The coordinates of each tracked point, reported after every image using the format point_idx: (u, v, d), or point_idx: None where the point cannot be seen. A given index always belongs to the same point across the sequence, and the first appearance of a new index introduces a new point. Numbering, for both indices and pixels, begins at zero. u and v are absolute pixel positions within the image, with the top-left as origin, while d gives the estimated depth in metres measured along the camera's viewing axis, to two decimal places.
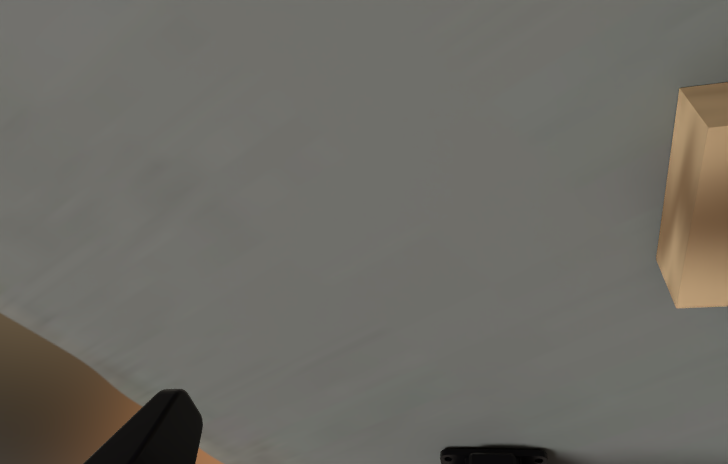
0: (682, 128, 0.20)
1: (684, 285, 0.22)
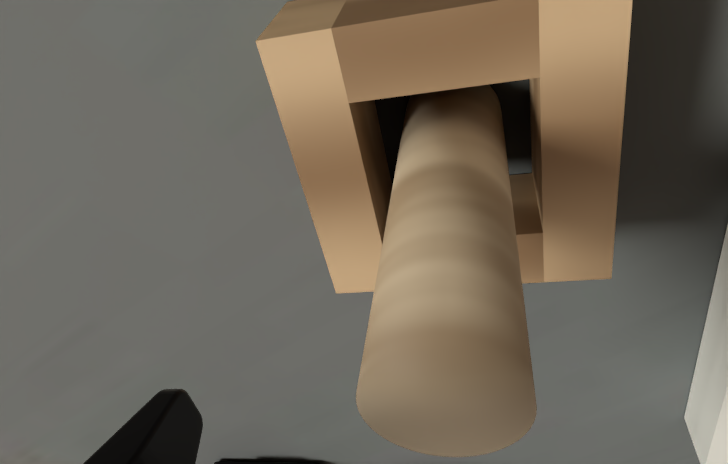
0: None
1: (331, 263, 0.17)
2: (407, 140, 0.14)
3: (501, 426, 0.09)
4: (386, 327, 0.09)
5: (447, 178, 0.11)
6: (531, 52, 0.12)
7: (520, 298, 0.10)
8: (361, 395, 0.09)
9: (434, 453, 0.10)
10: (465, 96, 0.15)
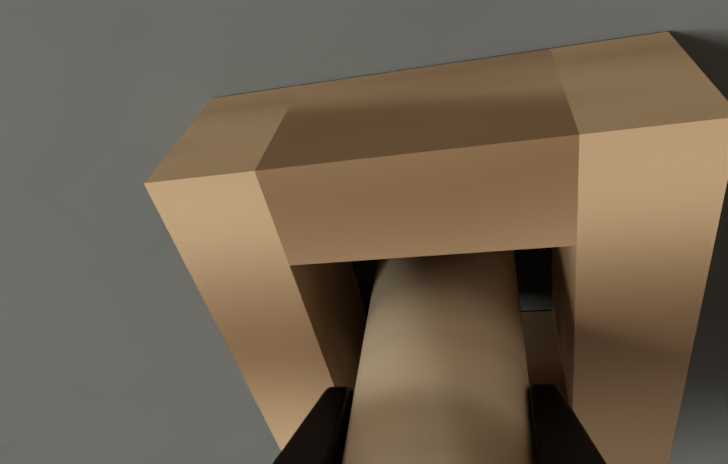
0: None
1: (281, 440, 0.12)
2: (378, 312, 0.10)
3: None
4: None
5: (432, 430, 0.07)
6: (564, 213, 0.08)
7: None
8: None
9: None
10: None
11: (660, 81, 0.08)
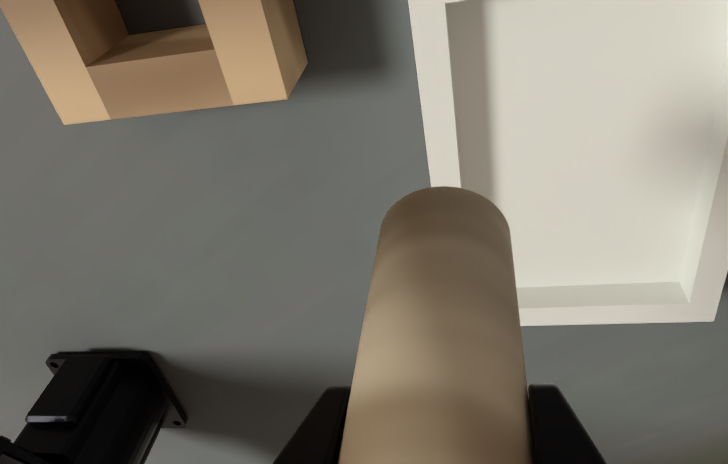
0: None
1: (49, 90, 0.18)
2: (375, 309, 0.09)
3: None
4: None
5: (429, 426, 0.07)
6: None
7: None
8: None
9: None
10: (460, 235, 0.10)
11: None
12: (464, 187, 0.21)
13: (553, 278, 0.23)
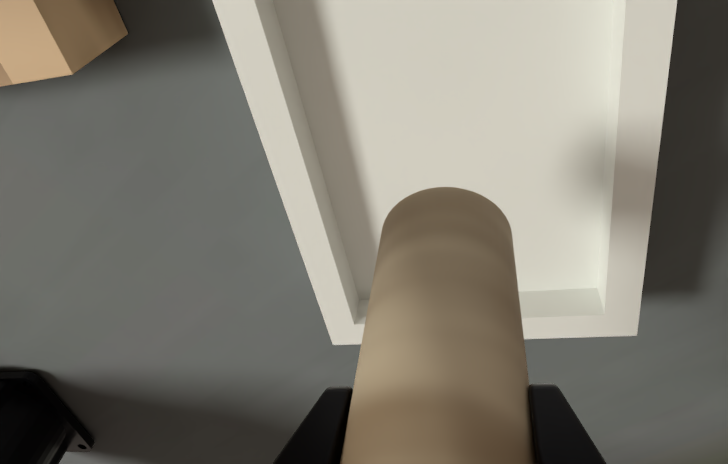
0: None
1: None
2: (377, 310, 0.09)
3: None
4: None
5: (431, 429, 0.07)
6: None
7: None
8: None
9: None
10: (463, 235, 0.10)
11: None
12: (327, 180, 0.17)
13: None
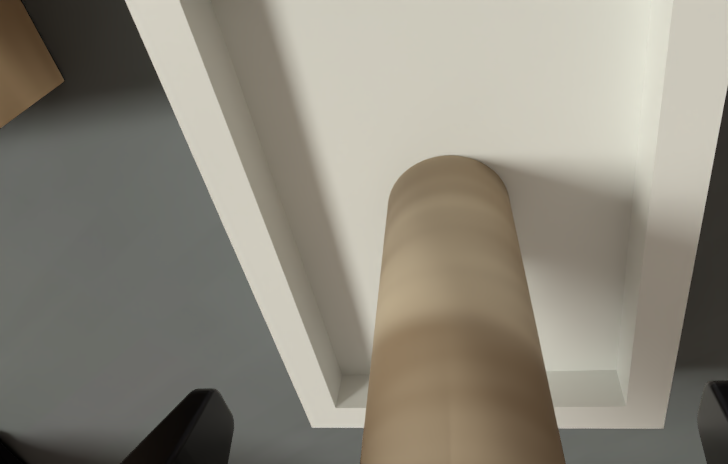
0: None
1: None
2: (393, 260, 0.10)
3: None
4: None
5: (454, 344, 0.08)
6: None
7: None
8: None
9: None
10: (467, 194, 0.11)
11: None
12: (301, 250, 0.15)
13: None
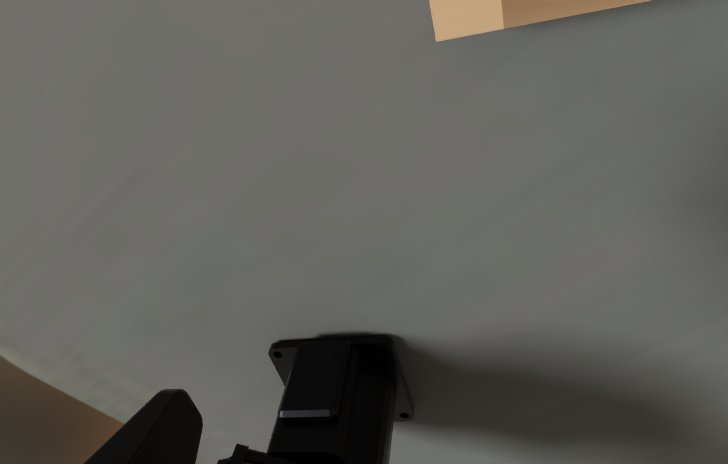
0: None
1: None
2: None
3: None
4: None
5: None
6: None
7: None
8: None
9: None
10: None
11: None
12: None
13: None
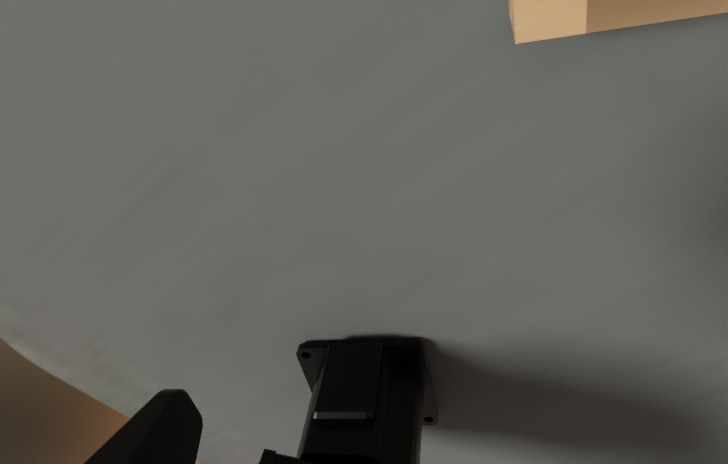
0: None
1: None
2: None
3: None
4: None
5: None
6: None
7: None
8: None
9: None
10: None
11: None
12: None
13: None
